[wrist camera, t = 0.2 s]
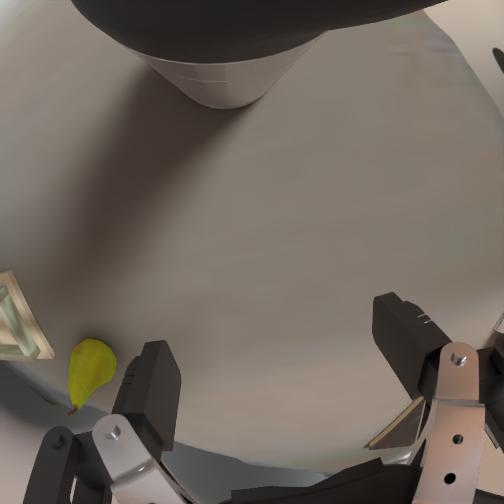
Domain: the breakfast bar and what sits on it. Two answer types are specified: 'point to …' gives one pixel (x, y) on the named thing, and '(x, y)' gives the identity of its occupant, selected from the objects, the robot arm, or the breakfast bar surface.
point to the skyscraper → (500, 325)
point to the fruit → (89, 370)
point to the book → (401, 428)
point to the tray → (19, 325)
